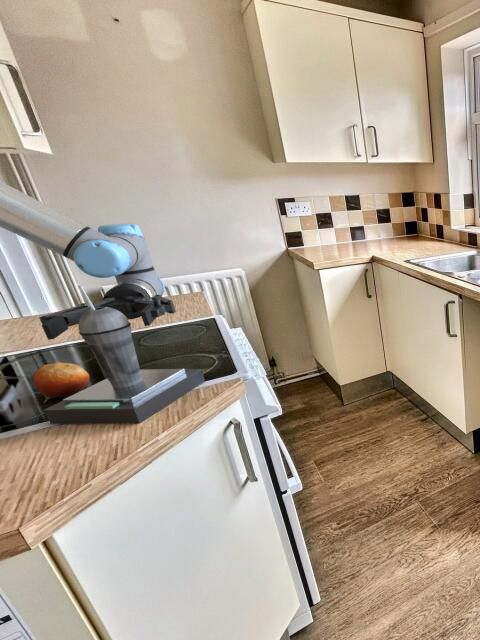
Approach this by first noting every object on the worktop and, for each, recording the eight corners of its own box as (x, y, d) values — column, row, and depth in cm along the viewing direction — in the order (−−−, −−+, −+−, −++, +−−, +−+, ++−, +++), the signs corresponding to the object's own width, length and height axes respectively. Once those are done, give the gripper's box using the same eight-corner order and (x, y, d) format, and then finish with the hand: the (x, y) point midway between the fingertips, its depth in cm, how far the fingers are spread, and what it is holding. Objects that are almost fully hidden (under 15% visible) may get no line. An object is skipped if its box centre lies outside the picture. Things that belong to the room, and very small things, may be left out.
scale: (50, 424, 77) (41, 407, 76) (130, 382, 93) (124, 367, 92) (139, 423, 77) (132, 406, 75) (205, 381, 92) (200, 366, 91)
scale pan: (64, 404, 78) (62, 399, 78) (126, 374, 90) (124, 369, 90) (132, 403, 77) (130, 398, 77) (185, 373, 90) (184, 368, 89)
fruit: (29, 390, 87) (43, 354, 87) (81, 396, 93) (95, 363, 93) (21, 404, 82) (36, 366, 82) (78, 410, 87) (92, 374, 87)
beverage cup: (158, 378, 85) (123, 281, 78) (115, 394, 79) (71, 290, 72) (139, 372, 88) (102, 278, 81) (95, 387, 82) (51, 287, 75)
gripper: (201, 306, 101) (187, 332, 84) (62, 325, 90) (12, 358, 73) (192, 275, 98) (175, 295, 81) (48, 291, 88) (-8, 317, 70)
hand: (98, 325), depth 77 cm, fingers open, 13 cm apart
